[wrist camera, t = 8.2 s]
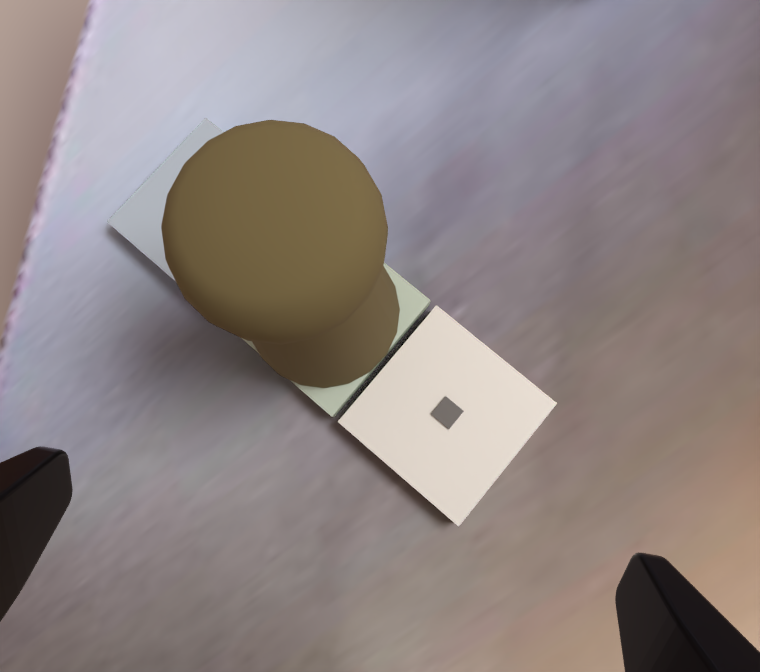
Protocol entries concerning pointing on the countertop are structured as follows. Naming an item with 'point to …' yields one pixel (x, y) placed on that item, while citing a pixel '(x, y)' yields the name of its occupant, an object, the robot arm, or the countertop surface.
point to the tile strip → (399, 377)
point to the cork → (285, 249)
